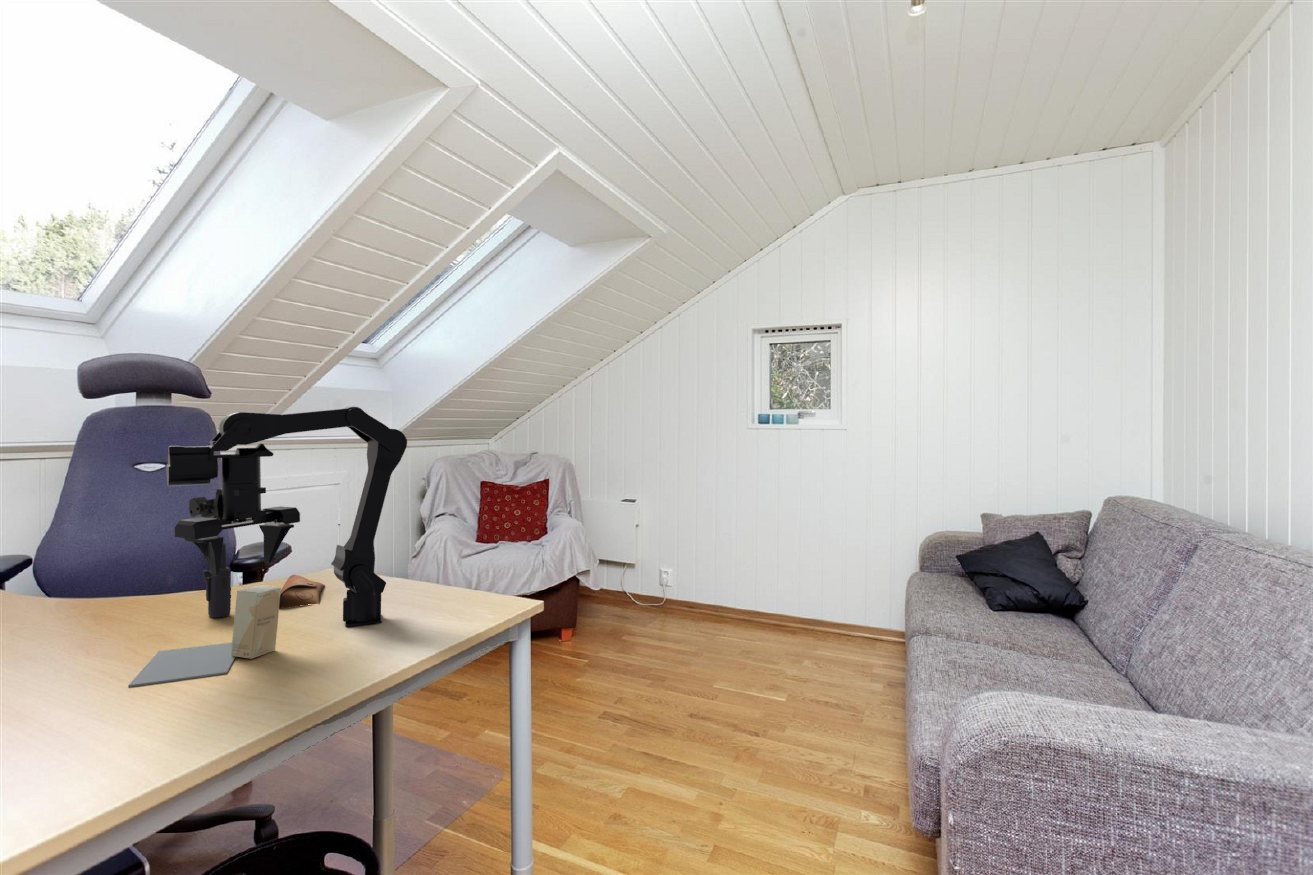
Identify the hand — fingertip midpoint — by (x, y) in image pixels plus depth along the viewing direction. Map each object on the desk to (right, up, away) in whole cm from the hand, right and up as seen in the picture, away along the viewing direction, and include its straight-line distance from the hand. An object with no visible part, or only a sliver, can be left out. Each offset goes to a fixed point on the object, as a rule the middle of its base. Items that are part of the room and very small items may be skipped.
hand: (242, 569), depth 106 cm
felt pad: (-2, -13, -9) cm, 16 cm away
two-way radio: (-16, -13, +15) cm, 26 cm away
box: (+5, -14, -4) cm, 15 cm away
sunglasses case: (-8, -14, +31) cm, 34 cm away
